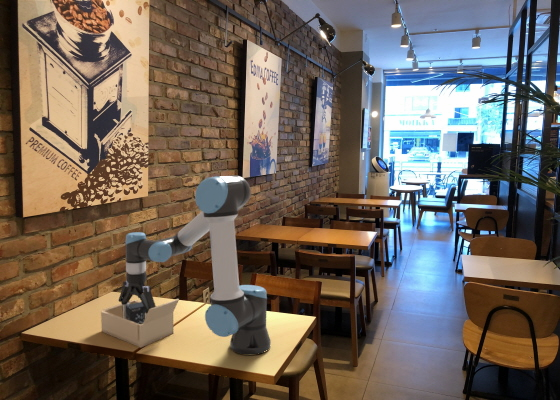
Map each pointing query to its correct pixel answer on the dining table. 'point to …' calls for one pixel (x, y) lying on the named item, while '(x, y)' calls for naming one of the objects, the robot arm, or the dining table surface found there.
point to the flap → (161, 311)
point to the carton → (135, 326)
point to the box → (135, 313)
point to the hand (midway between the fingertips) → (137, 323)
